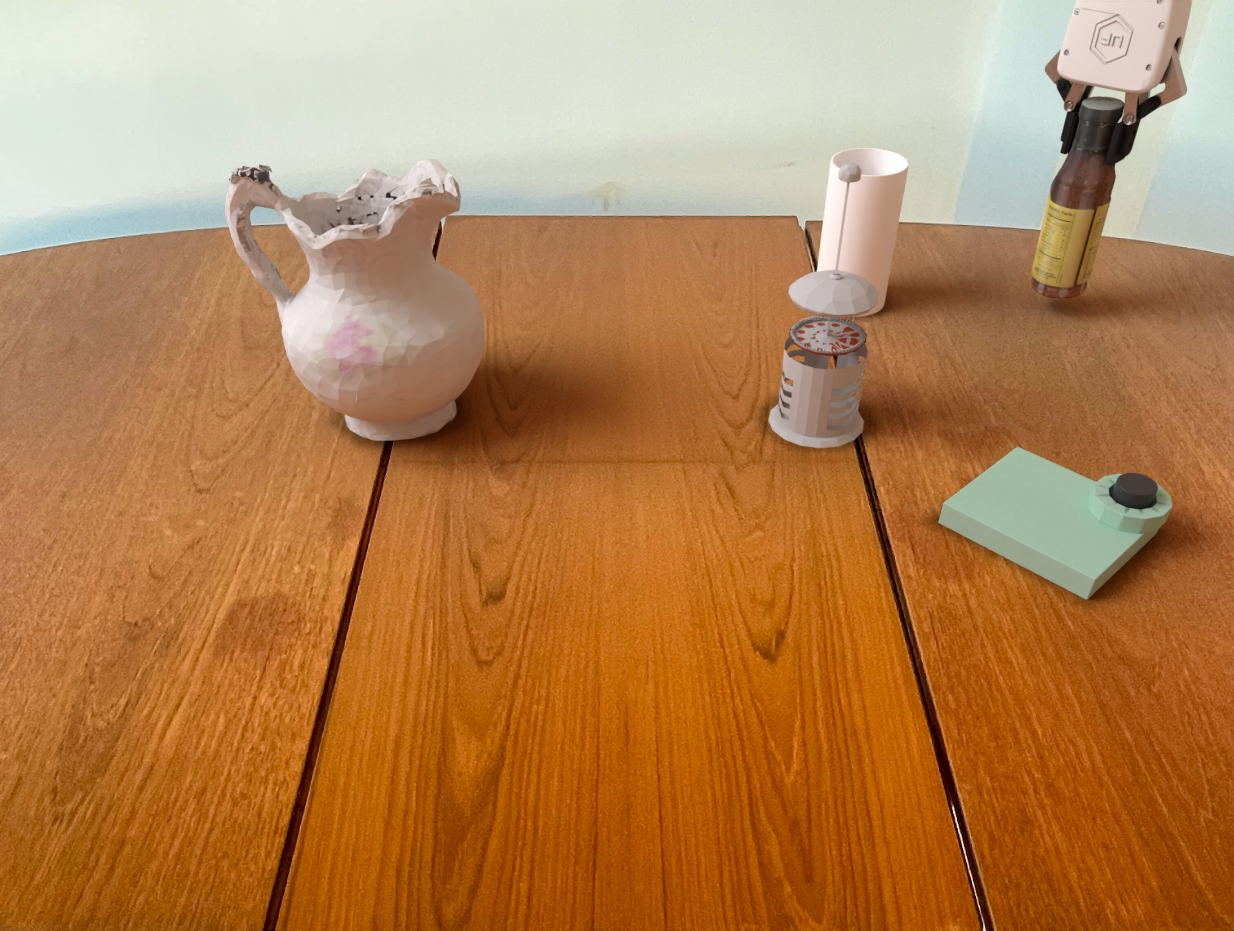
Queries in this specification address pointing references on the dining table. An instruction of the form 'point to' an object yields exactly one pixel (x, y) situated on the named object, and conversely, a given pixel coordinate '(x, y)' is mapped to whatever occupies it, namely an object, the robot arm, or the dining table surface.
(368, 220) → the ceramic pitcher
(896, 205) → the white cylinder
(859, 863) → the dining table surface
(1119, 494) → the tare button
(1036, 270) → the sauce bottle
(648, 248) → the dining table surface
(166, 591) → the dining table surface
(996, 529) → the scale
